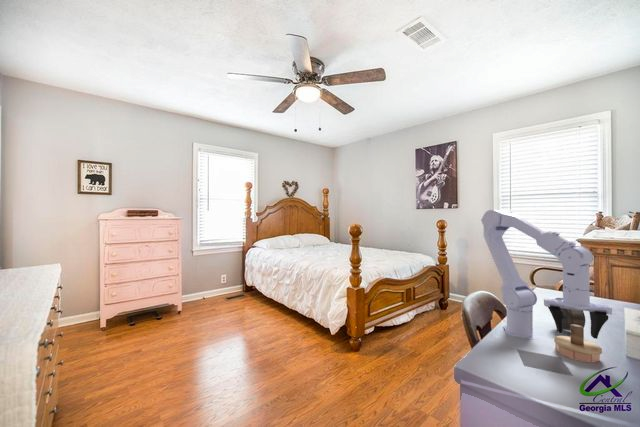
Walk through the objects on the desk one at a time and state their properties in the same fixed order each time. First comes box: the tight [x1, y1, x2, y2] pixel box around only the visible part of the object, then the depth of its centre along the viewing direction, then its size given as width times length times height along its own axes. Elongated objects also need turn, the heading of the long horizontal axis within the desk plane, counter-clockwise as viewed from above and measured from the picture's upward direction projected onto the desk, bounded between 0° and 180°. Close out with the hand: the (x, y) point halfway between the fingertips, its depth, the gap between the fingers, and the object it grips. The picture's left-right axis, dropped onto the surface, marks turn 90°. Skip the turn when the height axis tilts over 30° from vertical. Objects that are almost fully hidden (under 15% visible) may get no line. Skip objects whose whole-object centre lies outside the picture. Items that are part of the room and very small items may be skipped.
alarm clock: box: [552, 287, 586, 332], centre depth 95 cm, size 11×5×16 cm, turn 168°
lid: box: [553, 324, 603, 355], centre depth 78 cm, size 10×10×6 cm
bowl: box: [554, 342, 601, 363], centre depth 79 cm, size 9×9×3 cm
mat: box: [516, 348, 574, 377], centre depth 74 cm, size 10×10×1 cm
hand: (576, 334), depth 79 cm, fingers open, 7 cm apart
